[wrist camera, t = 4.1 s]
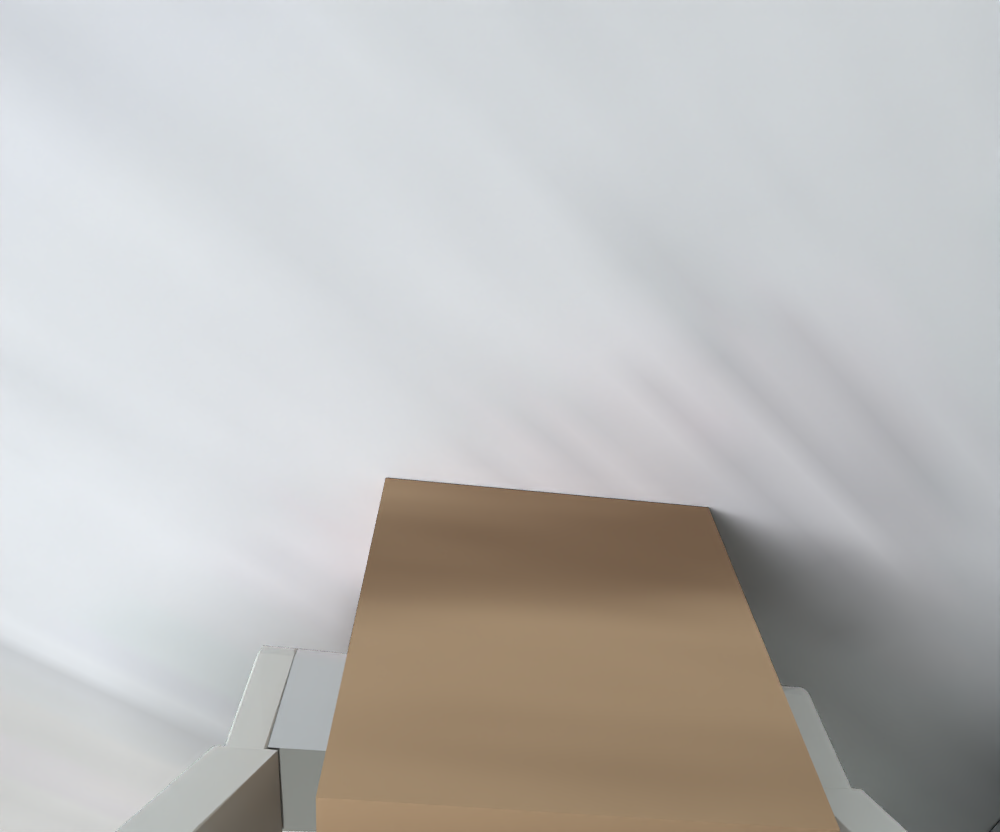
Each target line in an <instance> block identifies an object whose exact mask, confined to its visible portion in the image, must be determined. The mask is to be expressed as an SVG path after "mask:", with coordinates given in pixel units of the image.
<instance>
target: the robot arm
mask: <svg viewBox="0 0 1000 832" xmlns="http://www.w3.org/2000/svg"><path fill="white" fill-rule="evenodd" d="M346 657H347V653H337V652H328V651H318V650H308V649H299V648H298V649H296V648H285V647H274V646H263V647H262V648H261V650H260V651H259V653H258V654H257V656H256V659H255V662H254V665H253V668H252V670H251V673H250V676H249V679H248V682H247V684H246V687H245V690H244V693H243V696H242V699H241V701H240V704H239V707H238V710H237V713H236V715H235V718H234V721H233V724H232V727H231V730H230V732H229V735H228V738H227V741H226V744H225V746H213V747H212V748H211V749H209V750H208V751H207V752H206V753H205V754H204V755H203V756H201V757H200V758H199V759H198V760H197V761H196V762H195V763H193V764H192V765H191V766H190V767H189V768H188V769H186V770H185V771H184V772H183V773H182V774H181V775H180V776H178V777H177V778H176V779H175V780H174V781H173V782H172V783H170V784H169V785H168V786H167V787H166V788H165V789H164V790H162V791H161V792H160V793H159V794H158V795H157V796H156V797H154V798H153V799H152V800H151V801H150V802H149V803H148V804H146V805H145V806H144V807H143V808H142V809H141V810H139V811H138V812H137V813H136V814H135V815H134V816H133V817H131V818H130V819H129V820H128V821H127V822H126V823H125V824H123V825H122V826H121V827H120V828H119V829H118V830H117V831H115V832H282V831H308V832H316V794H317V790H318V785H319V780H320V776H321V771H322V767H323V762H324V758H325V753H326V748H327V744H328V739H329V735H330V730H331V726H332V721H333V716H334V712H335V707H336V703H337V698H338V694H339V689H340V684H341V680H342V675H343V671H344V666H345V662H346ZM782 689H783V691H784V694H785V696H786V698H787V701H788V703H789V706H790V708H791V711H792V713H793V716H794V718H795V721H796V723H797V725H798V728H799V730H800V733H801V735H802V738H803V740H804V743H805V745H806V748H807V750H808V752H809V755H810V757H811V760H812V762H813V765H814V767H815V770H816V772H817V774H818V777H819V779H820V782H821V784H822V787H823V789H824V792H825V794H826V797H827V799H828V801H829V804H830V806H831V809H832V811H833V814H834V816H835V819H836V821H837V823H838V826H839V828H840V831H839V832H908V831H906V830H905V829H904V828H903V827H902V826H901V825H900V824H899V823H898V822H897V821H896V820H895V819H893V818H892V817H891V816H890V815H889V814H888V813H887V812H886V811H885V810H884V809H883V808H881V807H880V806H879V805H878V804H877V803H876V802H875V801H874V800H873V799H872V798H871V797H870V796H868V795H867V794H866V793H865V792H864V791H863V790H862V789H854V788H851V785H850V783H849V781H848V779H847V777H846V774H845V772H844V770H843V768H842V765H841V763H840V761H839V759H838V757H837V754H836V752H835V750H834V748H833V746H832V743H831V741H830V739H829V737H828V735H827V732H826V730H825V728H824V726H823V724H822V721H821V719H820V717H819V715H818V713H817V710H816V708H815V706H814V704H813V702H812V699H811V697H810V695H809V693H808V692H807V691H806V690H805V689H804V688H803V687H790V686H782Z"/></svg>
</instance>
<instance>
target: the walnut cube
mask: <svg viewBox="0 0 1000 832" xmlns="http://www.w3.org/2000/svg"><path fill="white" fill-rule="evenodd" d="M839 831H840V828H839V826H838V823H837V821H836V819H835V816H834V814H833V811H832V809H831V806H830V804H829V801H828V799H827V797H826V794H825V792H824V789H823V787H822V784H821V782H820V779H819V777H818V774H817V772H816V770H815V767H814V765H813V762H812V760H811V757H810V755H809V752H808V750H807V748H806V745H805V743H804V740H803V738H802V735H801V733H800V730H799V728H798V725H797V723H796V721H795V718H794V716H793V713H792V711H791V708H790V706H789V703H788V701H787V698H786V696H785V694H784V691H783V689H782V686H781V684H780V681H779V679H778V676H777V674H776V672H775V669H774V667H773V664H772V662H771V659H770V657H769V654H768V652H767V649H766V647H765V645H764V642H763V640H762V637H761V635H760V632H759V630H758V627H757V625H756V623H755V620H754V618H753V615H752V613H751V610H750V608H749V605H748V603H747V600H746V598H745V596H744V593H743V591H742V588H741V586H740V583H739V581H738V578H737V576H736V574H735V571H734V569H733V566H732V564H731V561H730V559H729V556H728V554H727V551H726V549H725V547H724V544H723V542H722V539H721V537H720V534H719V532H718V529H717V527H716V525H715V522H714V520H713V517H712V515H711V512H710V510H709V508H707V507H696V506H685V505H674V504H663V503H653V502H642V501H631V500H620V499H609V498H598V497H587V496H576V495H566V494H555V493H544V492H533V491H522V490H511V489H500V488H489V487H478V486H468V485H457V484H446V483H435V482H424V481H413V480H402V479H391V478H386V479H385V483H384V488H383V492H382V497H381V502H380V506H379V511H378V515H377V520H376V524H375V529H374V534H373V538H372V543H371V547H370V552H369V556H368V561H367V566H366V570H365V575H364V579H363V584H362V588H361V593H360V598H359V602H358V607H357V611H356V616H355V620H354V625H353V630H352V634H351V639H350V643H349V648H348V652H347V657H346V662H345V666H344V671H343V675H342V680H341V684H340V689H339V694H338V698H337V703H336V707H335V712H334V716H333V721H332V726H331V730H330V735H329V739H328V744H327V748H326V753H325V758H324V762H323V767H322V771H321V776H320V780H319V785H318V790H317V794H316V832H839Z"/></svg>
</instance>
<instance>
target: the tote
mask: <svg viewBox="0 0 1000 832" xmlns="http://www.w3.org/2000/svg"><path fill="white" fill-rule="evenodd" d="M991 832H1000V821H999V822H998V824H997V825H996V826H995V827H994V828H993V830H992V831H991Z"/></svg>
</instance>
